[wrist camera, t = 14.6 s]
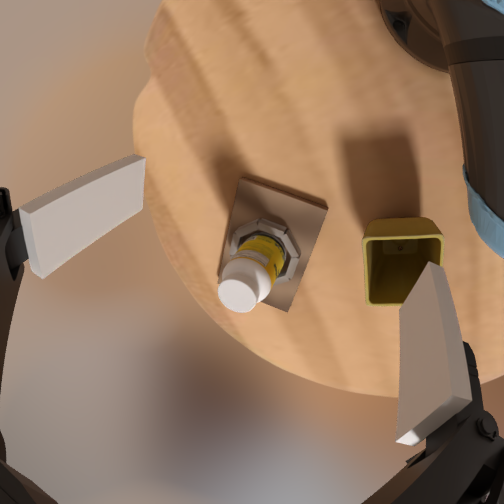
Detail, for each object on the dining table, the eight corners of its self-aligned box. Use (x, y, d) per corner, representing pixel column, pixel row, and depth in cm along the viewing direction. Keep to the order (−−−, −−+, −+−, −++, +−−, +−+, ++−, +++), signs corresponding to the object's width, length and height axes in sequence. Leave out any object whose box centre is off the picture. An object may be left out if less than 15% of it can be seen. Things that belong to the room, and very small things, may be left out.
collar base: (242, 177, 41) (235, 182, 40) (328, 208, 39) (325, 214, 37) (220, 280, 51) (213, 288, 50) (289, 308, 49) (285, 318, 47)
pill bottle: (277, 276, 46) (251, 326, 37) (239, 257, 47) (205, 302, 38) (294, 243, 42) (270, 290, 33) (253, 223, 43) (218, 264, 34)
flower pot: (368, 266, 41) (365, 307, 34) (363, 206, 38) (361, 237, 30) (429, 264, 38) (439, 305, 31) (430, 202, 34) (445, 234, 27)
